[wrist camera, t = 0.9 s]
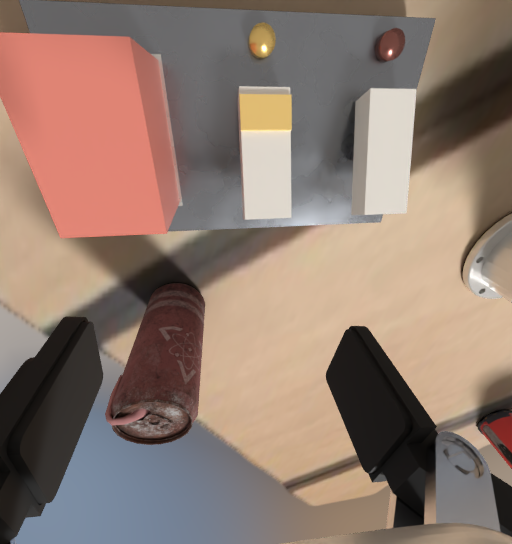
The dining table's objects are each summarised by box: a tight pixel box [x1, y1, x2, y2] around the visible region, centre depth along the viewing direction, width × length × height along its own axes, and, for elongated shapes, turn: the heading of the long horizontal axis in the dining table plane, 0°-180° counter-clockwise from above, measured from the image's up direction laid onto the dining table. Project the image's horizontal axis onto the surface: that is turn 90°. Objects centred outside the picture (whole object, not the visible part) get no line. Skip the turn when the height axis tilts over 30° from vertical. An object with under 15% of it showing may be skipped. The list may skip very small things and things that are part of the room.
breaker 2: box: [351, 88, 416, 215], centre depth 19 cm, size 3×8×2 cm, turn 0°
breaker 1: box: [238, 86, 292, 220], centre depth 18 cm, size 3×8×2 cm, turn 179°
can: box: [105, 283, 205, 445], centre depth 24 cm, size 6×6×14 cm
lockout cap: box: [0, 32, 180, 238], centre depth 16 cm, size 6×9×6 cm, turn 0°
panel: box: [19, 0, 436, 231], centre depth 20 cm, size 25×14×4 cm, turn 90°
